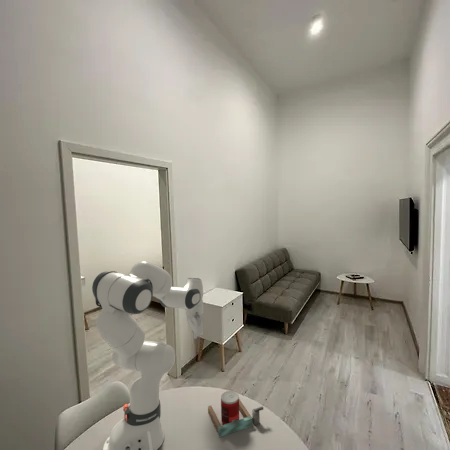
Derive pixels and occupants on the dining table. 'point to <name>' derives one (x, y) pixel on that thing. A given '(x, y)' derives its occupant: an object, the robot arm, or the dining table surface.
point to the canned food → (229, 407)
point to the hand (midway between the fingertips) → (195, 337)
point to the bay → (238, 424)
